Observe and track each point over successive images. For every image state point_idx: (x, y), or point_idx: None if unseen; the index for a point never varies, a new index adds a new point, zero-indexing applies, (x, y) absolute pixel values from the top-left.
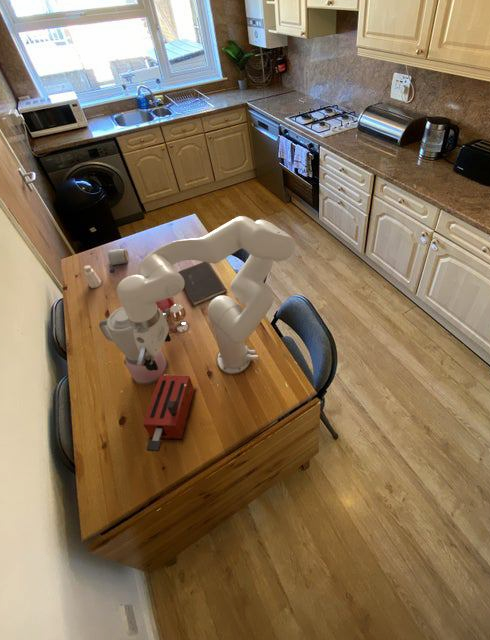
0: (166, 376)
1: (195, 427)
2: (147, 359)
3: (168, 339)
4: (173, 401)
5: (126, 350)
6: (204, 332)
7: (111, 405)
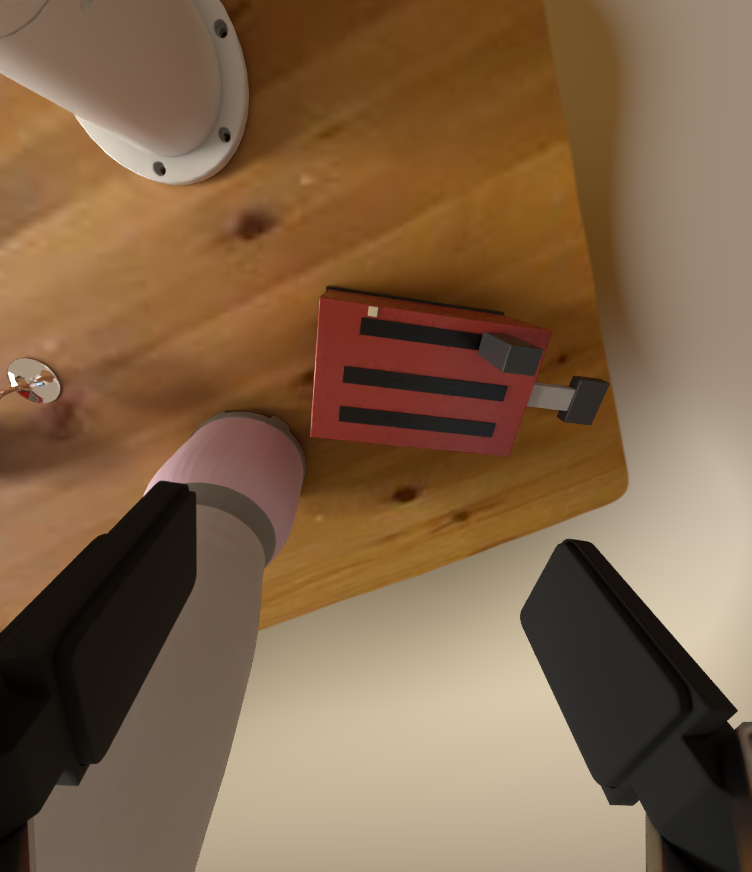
0: (319, 408)
1: (468, 269)
2: (724, 851)
3: (173, 526)
4: (512, 349)
5: (252, 657)
6: (33, 273)
7: (359, 531)
